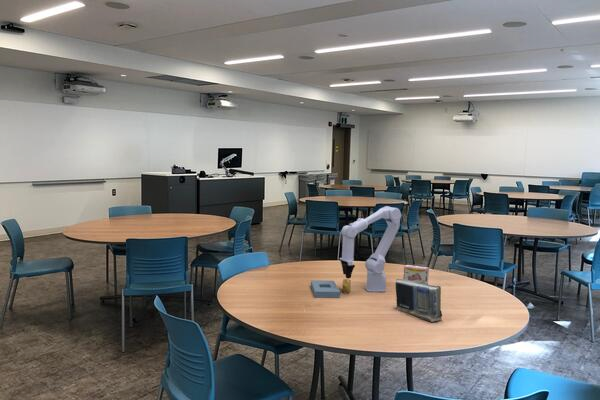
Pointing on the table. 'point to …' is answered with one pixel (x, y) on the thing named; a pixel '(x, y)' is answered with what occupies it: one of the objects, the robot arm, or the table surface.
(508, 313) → the table surface
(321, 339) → the table surface
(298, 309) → the table surface
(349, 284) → the brass cylinder
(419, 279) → the candy bar box
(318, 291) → the jig
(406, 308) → the radio
